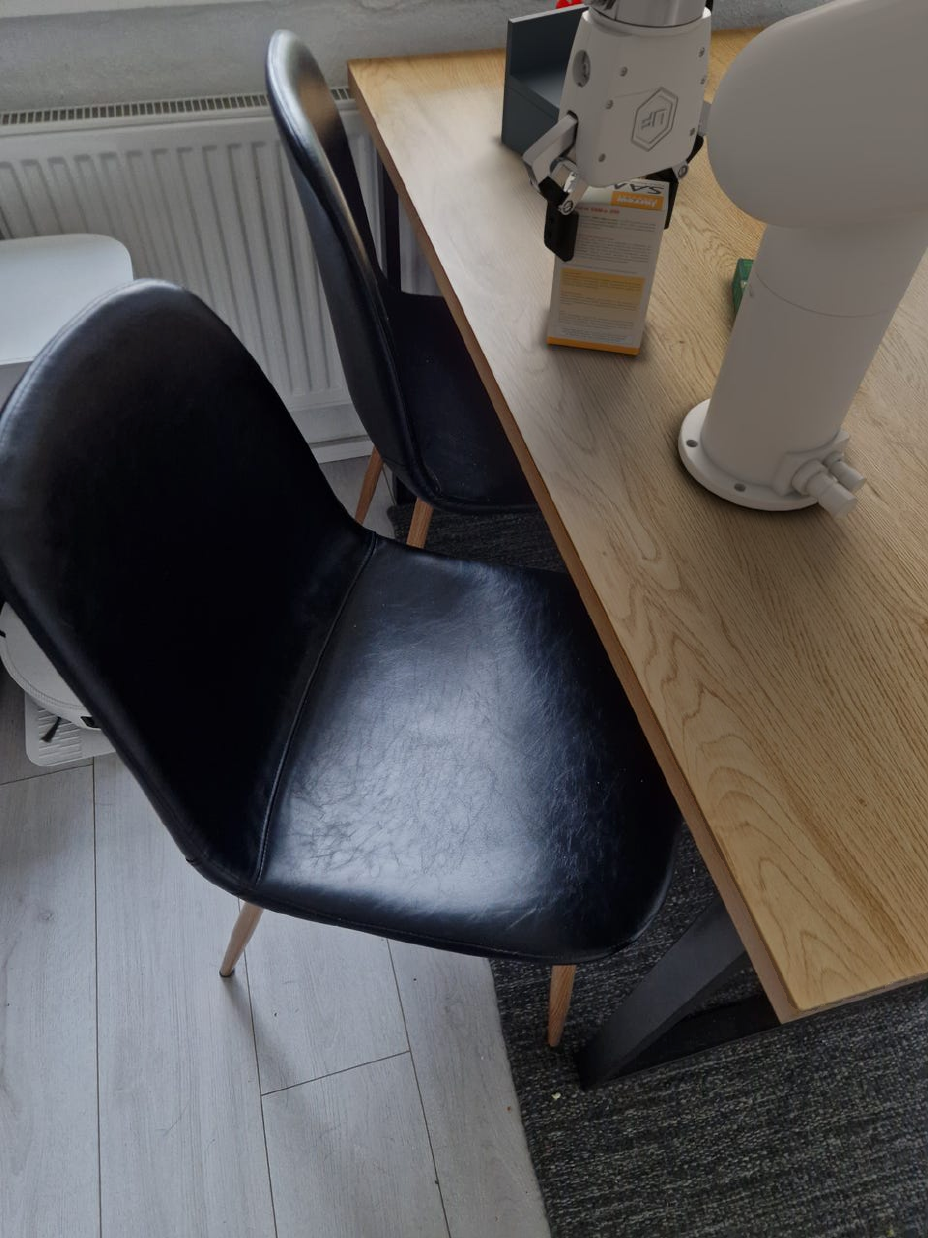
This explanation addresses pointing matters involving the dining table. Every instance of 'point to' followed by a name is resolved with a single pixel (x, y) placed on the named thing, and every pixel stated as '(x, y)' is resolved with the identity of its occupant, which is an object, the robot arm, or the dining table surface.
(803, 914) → the dining table surface
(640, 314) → the supplement box
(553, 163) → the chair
